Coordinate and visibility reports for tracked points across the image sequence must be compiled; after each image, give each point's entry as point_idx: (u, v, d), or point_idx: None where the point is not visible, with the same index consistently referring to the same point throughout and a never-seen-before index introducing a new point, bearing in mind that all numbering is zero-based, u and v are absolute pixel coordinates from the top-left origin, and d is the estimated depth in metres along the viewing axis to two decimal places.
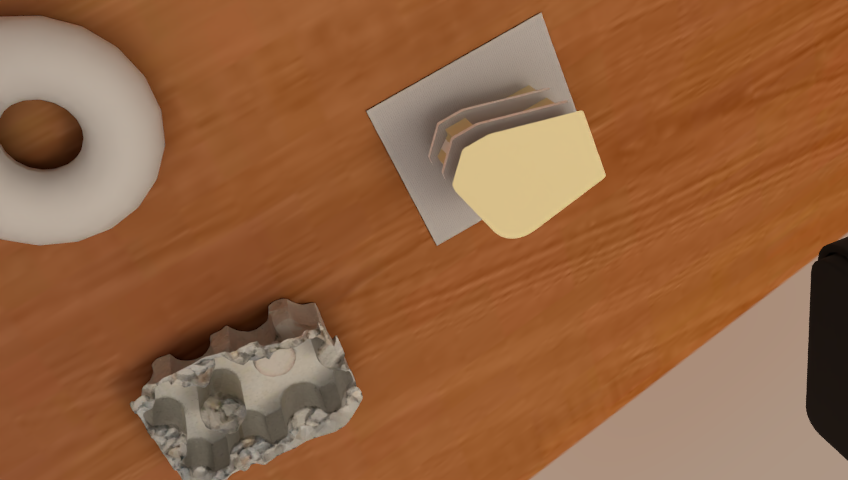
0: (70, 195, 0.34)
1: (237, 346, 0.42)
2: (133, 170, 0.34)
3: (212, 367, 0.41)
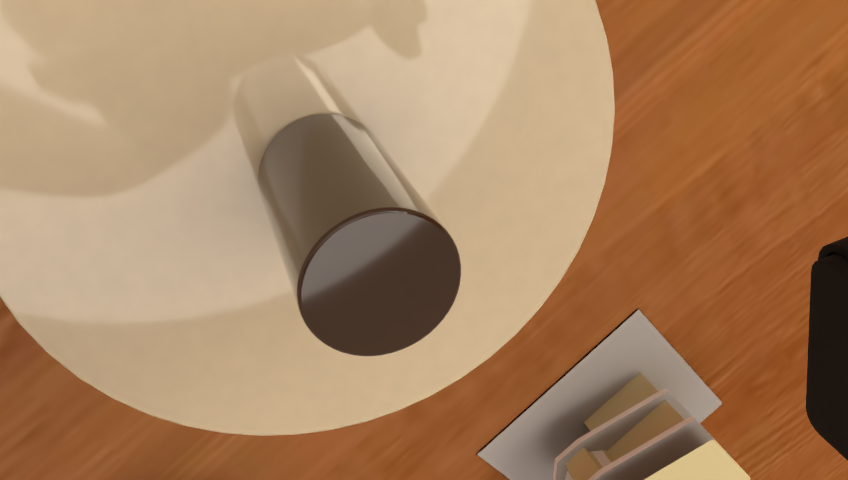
0: None
1: None
2: None
3: None
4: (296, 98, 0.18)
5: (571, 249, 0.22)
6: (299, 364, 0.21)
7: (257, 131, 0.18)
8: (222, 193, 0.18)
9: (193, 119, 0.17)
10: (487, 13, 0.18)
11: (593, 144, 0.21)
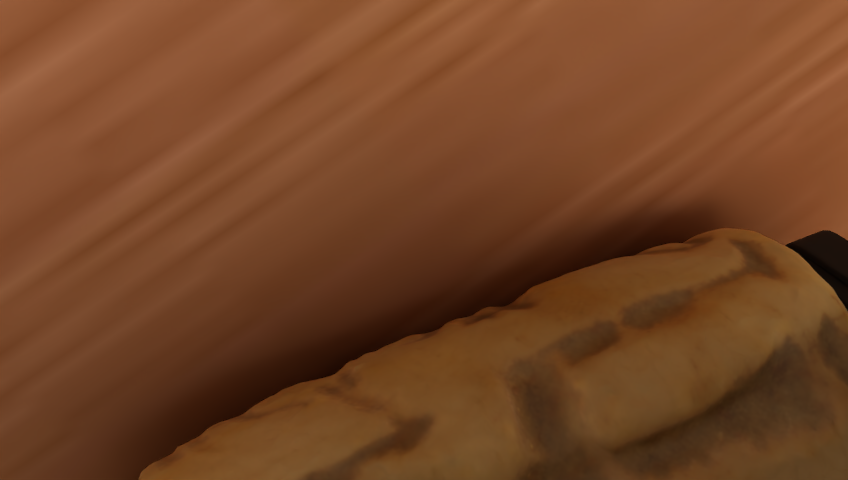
0: None
1: None
2: None
3: None
4: None
5: None
6: None
7: None
8: None
9: None
10: None
11: None
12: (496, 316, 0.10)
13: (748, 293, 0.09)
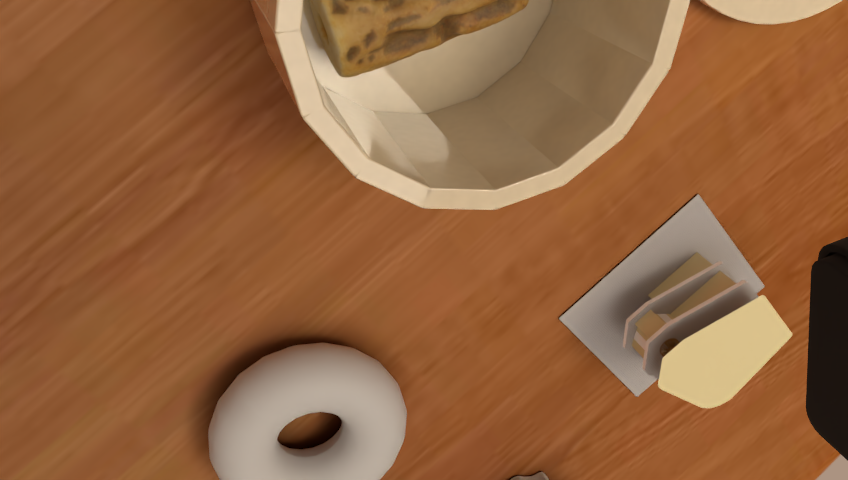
0: (344, 473, 0.41)
1: None
2: (390, 443, 0.41)
3: None
4: None
5: None
6: None
7: None
8: None
9: None
10: None
11: None
12: None
13: None
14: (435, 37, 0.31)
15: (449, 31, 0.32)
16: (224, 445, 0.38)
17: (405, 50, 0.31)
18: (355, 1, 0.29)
